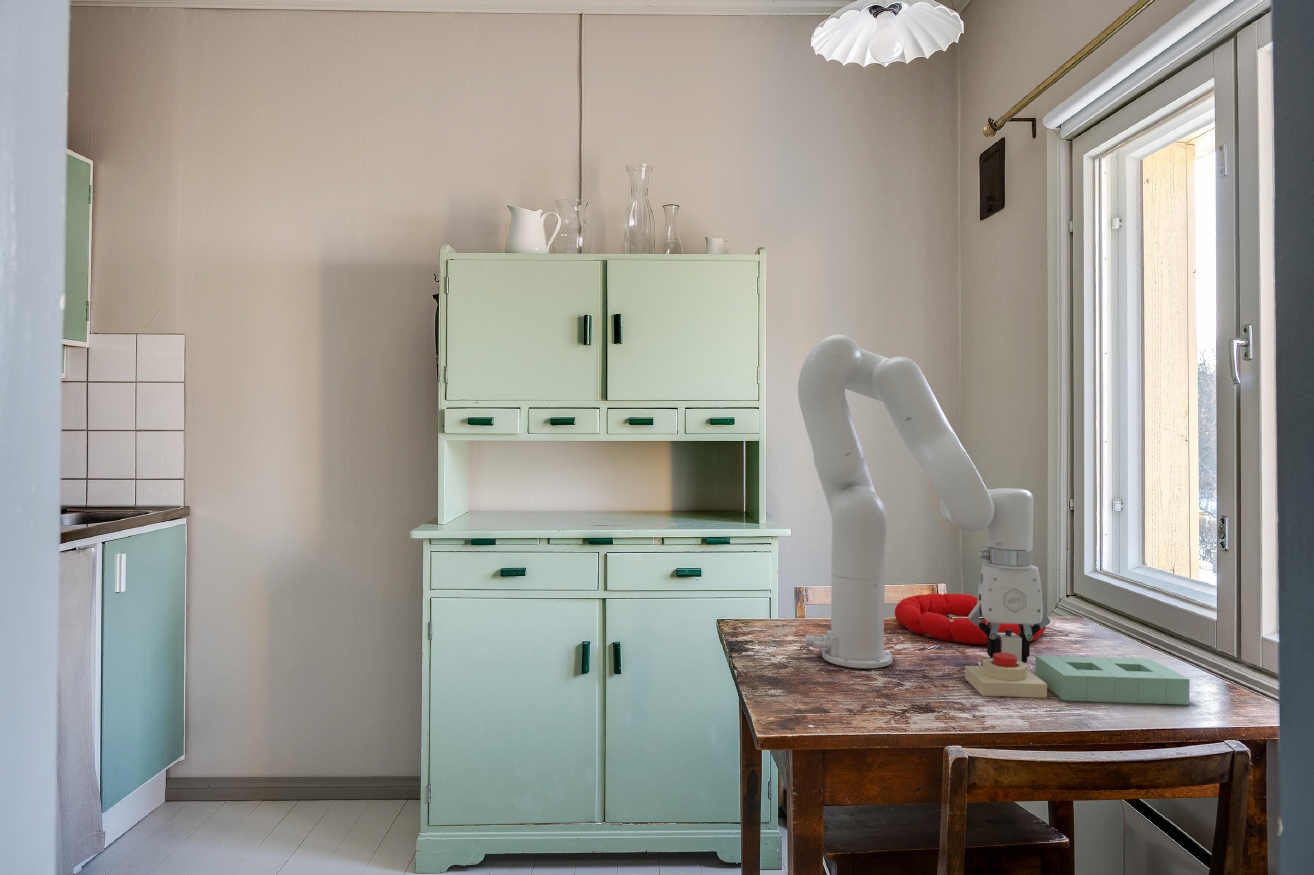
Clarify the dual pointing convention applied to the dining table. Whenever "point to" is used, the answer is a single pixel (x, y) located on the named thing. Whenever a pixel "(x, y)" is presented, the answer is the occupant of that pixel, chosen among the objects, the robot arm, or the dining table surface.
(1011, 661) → the power button
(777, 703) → the dining table surface
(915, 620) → the decorative ring
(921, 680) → the dining table surface
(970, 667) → the switch box
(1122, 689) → the green socket board
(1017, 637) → the white block with knob
